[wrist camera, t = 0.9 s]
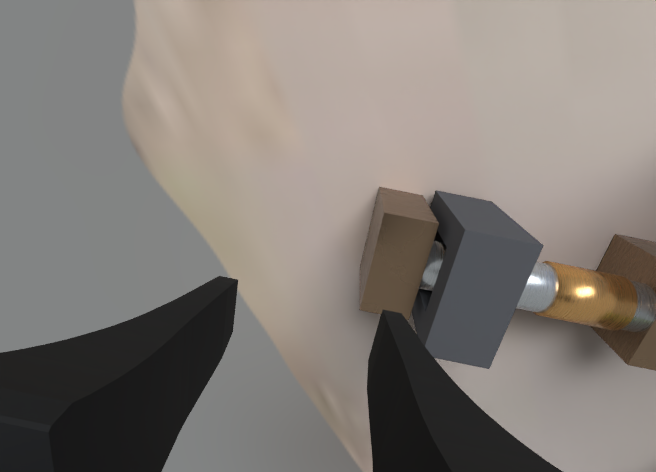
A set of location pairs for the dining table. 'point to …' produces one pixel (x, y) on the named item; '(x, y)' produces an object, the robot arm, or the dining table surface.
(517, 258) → the gray square nut
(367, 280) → the brown dumbbell
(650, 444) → the dining table surface
